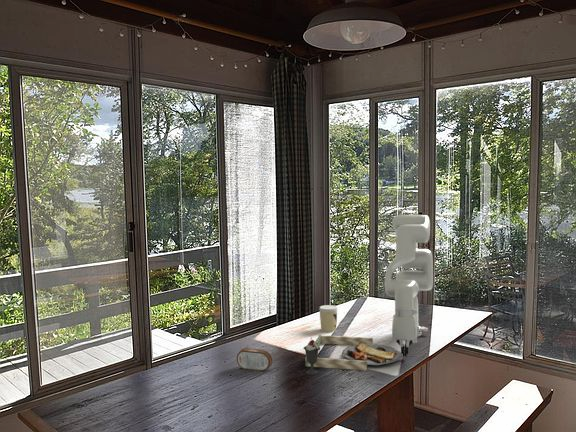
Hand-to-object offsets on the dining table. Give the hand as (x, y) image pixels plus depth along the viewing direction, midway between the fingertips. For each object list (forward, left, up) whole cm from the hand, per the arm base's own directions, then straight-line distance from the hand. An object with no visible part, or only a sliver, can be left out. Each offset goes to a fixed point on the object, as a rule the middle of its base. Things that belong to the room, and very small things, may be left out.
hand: (404, 355), depth 206 cm
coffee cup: (+39, -37, -2) cm, 53 cm away
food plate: (+14, 0, -2) cm, 14 cm away
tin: (+60, +22, -2) cm, 64 cm away
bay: (+28, -1, -2) cm, 28 cm away
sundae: (+36, +21, -2) cm, 42 cm away
